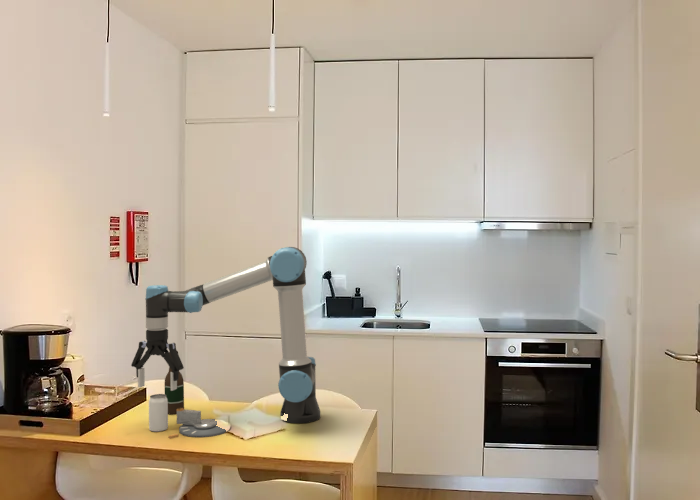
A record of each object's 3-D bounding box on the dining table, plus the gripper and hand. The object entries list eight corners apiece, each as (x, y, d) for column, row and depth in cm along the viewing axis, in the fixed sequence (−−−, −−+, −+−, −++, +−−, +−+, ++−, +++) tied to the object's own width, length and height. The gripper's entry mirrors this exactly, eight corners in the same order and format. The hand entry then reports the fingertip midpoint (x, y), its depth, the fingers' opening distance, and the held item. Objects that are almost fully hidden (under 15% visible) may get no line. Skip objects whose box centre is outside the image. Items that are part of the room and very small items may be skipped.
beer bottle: (187, 409, 248) (186, 349, 247) (180, 415, 240) (179, 353, 239) (168, 409, 248) (167, 349, 248) (160, 414, 241) (160, 353, 240)
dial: (220, 423, 225) (220, 408, 225) (209, 429, 217) (208, 414, 217) (185, 419, 230) (184, 405, 230) (172, 426, 222) (172, 411, 222)
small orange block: (176, 435, 215) (176, 433, 215) (178, 436, 214) (178, 434, 214) (168, 437, 213) (168, 435, 213) (170, 438, 212) (170, 436, 212)
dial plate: (240, 424, 228) (240, 421, 228) (214, 439, 211) (214, 436, 211) (197, 419, 234) (197, 416, 234) (168, 434, 217) (168, 431, 217)
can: (162, 432, 219) (161, 398, 219) (145, 431, 220) (145, 397, 220) (171, 427, 225) (170, 394, 225) (154, 426, 227) (154, 393, 226)
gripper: (193, 329, 222) (193, 388, 222) (134, 325, 229) (134, 382, 230) (181, 332, 214) (181, 393, 215) (120, 328, 222) (121, 387, 223)
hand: (157, 388), depth 223 cm, fingers open, 13 cm apart
